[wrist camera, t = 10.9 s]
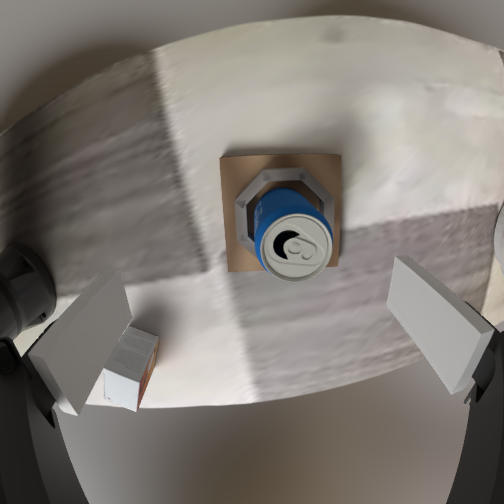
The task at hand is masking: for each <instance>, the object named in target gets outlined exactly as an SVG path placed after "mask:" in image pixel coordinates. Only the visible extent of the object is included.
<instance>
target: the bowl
mask: <svg viewBox="0 0 504 504" xmlns="http://www.w3.org/2000/svg"><path fill="white" fill-rule="evenodd" d="M494 251H495V255H496V258H497V260H498V261H499V263H500V264H501V268H502V273H503V276H504V206H503V207H502V209H501V212H500V214H499V217H498V220H497V223H496V228H495V234H494Z"/></svg>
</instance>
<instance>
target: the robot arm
mask: <svg viewBox="0 0 504 504" xmlns="http://www.w3.org/2000/svg"><path fill="white" fill-rule="evenodd" d="M55 306H56V295H55V289H54V285H53V282H52V280H51V277H50V275H49V273H48V271H47V269H46V267H45V265H44V264H43V262H42V261H41V260H40V258H39V257H38V256H37V255H36V254H35V253H34V252H33V251H32V250H31V249H29V248H28V247H26V246H24V245H21V244H14V245H11V246H10V247H8V248H6V249H5V250H3V251H2V252H1V253H0V504H89V503H88V501H87V498H86V497H85V495H84V492H83V490H82V488H81V485H80V483H79V481H78V478H77V476H76V473H75V471H74V468H73V466H72V463H71V461H70V458H69V455H68V452H67V449H66V446H65V443H64V440H63V437H62V433H61V430H60V426H59V423H58V419H57V415H56V413H55V411H54V409H53V408H52V406H53V405H54V403H55V401H56V402H57V404H58V405H59V407H60V408H61V409H62V411H63V412H66V413H69V414H73V415H77V416H79V414H80V412H81V410H82V408H83V406H84V404H85V402H86V400H87V398H88V396H89V394H90V392H91V390H92V389H93V387H94V385H95V383H96V381H97V379H98V377H99V375H100V373H101V371H102V370H103V368H104V366H105V364H106V362H107V360H108V359H109V357H110V355H111V353H112V351H113V350H114V348H115V346H116V344H117V343H118V341H119V339H120V337H121V336H122V334H123V332H124V330H125V329H126V327H127V325H128V324H129V322H130V320H131V319H132V315H131V311H130V308H129V304H128V300H127V296H126V292H125V288H124V284H123V280H122V276H121V271H120V268H107V269H106V270H104V271H103V272H102V273H101V274H100V275H99V276H98V277H97V278H96V279H95V280H94V281H93V282H92V283H91V284H90V285H89V286H88V287H87V288H86V289H85V290H84V291H83V293H82V294H81V295H80V296H79V297H78V298H77V299H76V300H75V301H74V302H73V303H72V304H71V305H70V306H69V307H68V308H67V309H66V310H65V312H64V313H63V314H62V315H61V316H60V317H59V318H58V319H57V320H55V321H54V322H52V323H51V324H50V325H49V326H48V327H47V328H46V329H45V330H44V333H42V334H41V335H40V336H39V339H36V341H35V342H34V343H33V344H32V345H31V346H30V348H29V349H28V350H27V351H26V352H25V354H24V355H23V356H22V357H21V356H20V354H19V352H18V350H17V348H16V346H15V344H14V342H13V340H14V339H15V338H16V337H17V336H18V335H19V334H20V333H21V332H22V331H24V330H27V329H29V328H32V327H34V326H37V325H40V324H42V323H44V322H45V321H46V320H47V319H48V318H49V317H50V316H51V315H52V314H53V312H54V310H55ZM386 306H387V307H388V308H389V310H390V311H391V312H392V313H393V315H394V316H395V317H396V318H397V320H398V321H399V322H400V324H401V325H402V326H403V328H404V329H405V330H406V332H407V333H408V334H409V335H410V337H411V338H412V339H413V341H414V342H415V344H416V345H417V346H418V348H419V349H420V350H421V352H422V353H423V354H424V356H425V357H426V359H427V360H428V361H429V363H430V364H431V366H432V367H433V368H434V370H435V371H436V373H437V374H438V376H439V377H440V379H441V380H442V381H443V383H444V384H445V386H446V387H447V389H448V390H449V392H450V393H451V394H454V393H456V392H459V391H461V390H463V389H465V388H466V386H467V384H468V383H469V381H470V379H471V377H472V378H473V379H474V380H475V384H474V386H473V388H472V389H471V391H470V392H469V394H468V396H467V397H466V399H465V401H464V403H465V404H466V403H467V401H468V399H470V398H471V402H470V404H469V405H470V411H469V417H468V424H467V430H466V435H465V440H464V444H463V449H462V453H461V457H460V462H459V465H458V469H457V472H456V476H455V479H454V482H453V486H452V489H451V491H450V494H449V497H448V500H447V503H446V504H504V331H502V332H501V333H500V332H499V331H498V330H497V329H496V328H495V327H494V326H493V325H492V324H491V323H490V322H489V321H488V320H486V319H485V318H484V317H483V316H481V314H480V313H479V312H478V311H477V310H476V311H475V309H474V308H473V307H472V306H471V305H470V304H469V303H467V302H465V301H464V300H462V299H461V298H459V297H458V296H457V295H456V294H455V293H454V292H452V291H451V290H450V289H449V288H448V287H447V286H445V285H444V284H443V283H442V282H441V281H439V280H438V279H437V278H436V277H434V276H433V275H432V274H431V273H429V272H428V271H427V270H426V269H424V268H423V267H422V266H421V265H419V264H418V263H417V262H415V261H414V260H413V259H412V258H410V257H409V256H408V255H407V256H395V260H394V266H393V272H392V278H391V284H390V289H389V294H388V299H387V304H386Z"/></svg>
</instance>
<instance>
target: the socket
mask: <svg viewBox="0 0 504 504" xmlns="http://www.w3.org/2000/svg"><path fill="white" fill-rule="evenodd" d="M220 173H221V187H222V201H223V214H224V227H225V239H226V251H227V262H228V272H238V271H260V270H265V268H264V267H263V266H262V265H261V263H260V262H259V260H258V258H257V255H256V252H255V239H254V210H255V207H256V204H257V202H258V200H259V199H260V198H261V197H262V196H263V195H264V194H265V193H266V192H268V191H270V190H272V189H275V188H282V187H284V188H290V189H293V190H295V191H297V192H299V193H300V194H301V195H302V196H303V197H304V198H305V199H306V200H307V201H309V202H310V203H311V204H312V205H313V206H314V207H315V208H316V209H317V210H318V211H319V212H320V213H321V214H322V215H323V216H324V217H325V219H326V220H327V221H328V223H329V225H330V227H331V230H332V234H333V248H332V254H331V257H330V260H329V262H328V264H327V265H326V267H334V266H338V258H339V241H340V219H341V155H332V154H279V155H251V156H234V157H220Z"/></svg>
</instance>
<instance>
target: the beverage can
mask: <svg viewBox="0 0 504 504" xmlns="http://www.w3.org/2000/svg"><path fill="white" fill-rule="evenodd" d="M254 239H255V252H256V255H257V258H258V260H259V262H260V263H261V265H262V266H263V267H264V268H265V270H266V271H268V272H269V273H270V274H272V275H273V276H275V277H277V278H278V279H281V280H283V281H287V282H303V281H306V280H309V279H311V278H313V277H315V276H317V275H318V274H319V273H320V272H321V271H322V270H323V269H324V268H325V267H326V265H327V264H328V262H329V260H330V257H331V254H332V248H333V234H332V230H331V227H330V225H329V223H328V221H327V220H326V219H325V217H324V216H323V215H322V214H321V213H320V212H319V211H318V210H317V209H316V208H315V207H314V206H313V205H312V204H311V203H310V202H309V201H307V200H306V199H305V198H304V197H303V196H302V195H301V194H300V193H299V192H297V191H295V190H293V189H290V188H284V187H282V188H275V189H272V190H270V191H268V192H266V193H265V194H264V195H263V196H262V197H261V198H260V199H259V200H258V202H257V204H256V207H255V210H254Z"/></svg>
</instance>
